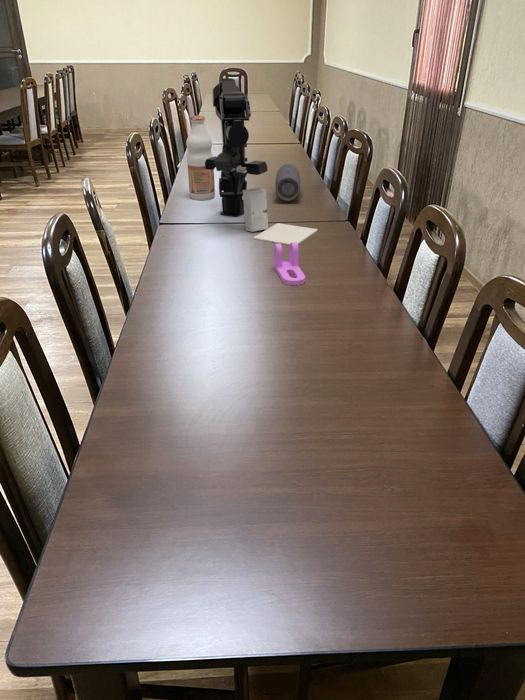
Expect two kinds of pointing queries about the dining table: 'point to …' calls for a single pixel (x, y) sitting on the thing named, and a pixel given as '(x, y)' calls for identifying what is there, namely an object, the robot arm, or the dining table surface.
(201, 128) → the fruit juice
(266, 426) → the dining table surface
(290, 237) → the rubber mat
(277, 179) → the bluetooth speaker
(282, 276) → the bracket
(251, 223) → the skincare box
